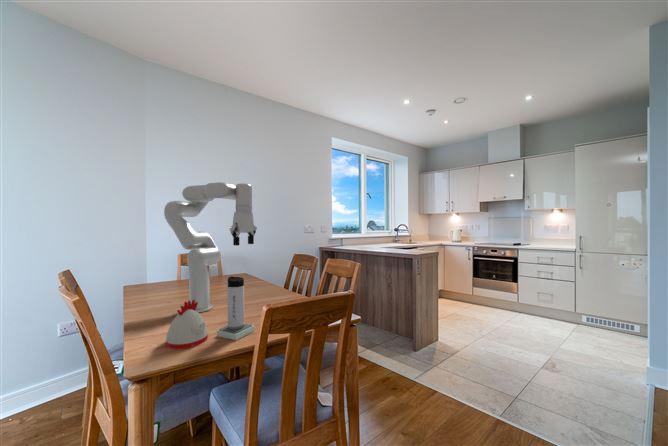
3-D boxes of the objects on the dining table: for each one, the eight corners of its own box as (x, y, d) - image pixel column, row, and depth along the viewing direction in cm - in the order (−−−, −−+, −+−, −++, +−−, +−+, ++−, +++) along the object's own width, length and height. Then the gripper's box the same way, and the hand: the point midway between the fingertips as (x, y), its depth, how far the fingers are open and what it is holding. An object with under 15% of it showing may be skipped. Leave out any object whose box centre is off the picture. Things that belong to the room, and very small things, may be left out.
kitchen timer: (215, 337, 108) (215, 298, 109) (184, 351, 96) (184, 308, 96) (190, 331, 114) (190, 295, 114) (157, 345, 101) (157, 303, 101)
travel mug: (236, 323, 116) (236, 275, 116) (247, 326, 113) (247, 276, 113) (223, 327, 111) (223, 277, 111) (234, 331, 108) (234, 279, 108)
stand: (216, 336, 109) (216, 329, 109) (235, 327, 118) (235, 321, 118) (236, 340, 105) (236, 333, 105) (254, 331, 114) (253, 325, 114)
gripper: (250, 210, 144) (250, 243, 144) (224, 208, 128) (224, 245, 128) (261, 210, 141) (261, 243, 140) (236, 208, 125) (236, 246, 125)
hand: (243, 244), depth 134 cm, fingers open, 9 cm apart
